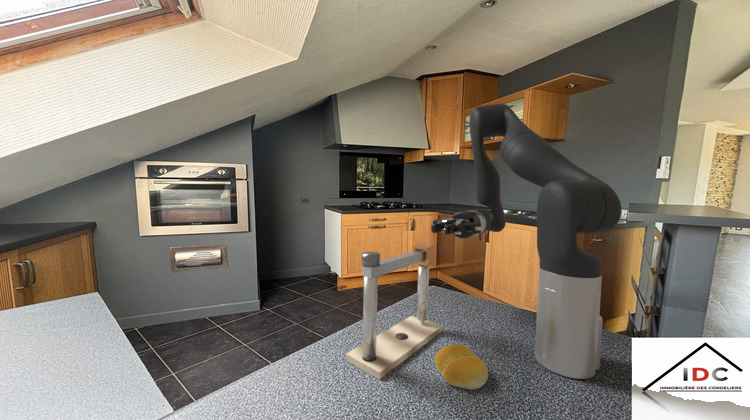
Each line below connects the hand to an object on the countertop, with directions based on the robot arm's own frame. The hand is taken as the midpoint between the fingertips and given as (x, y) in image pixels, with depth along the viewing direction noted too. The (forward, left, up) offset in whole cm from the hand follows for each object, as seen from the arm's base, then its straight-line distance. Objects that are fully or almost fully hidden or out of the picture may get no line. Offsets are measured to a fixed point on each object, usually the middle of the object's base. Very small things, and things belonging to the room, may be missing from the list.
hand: (439, 229), depth 69 cm
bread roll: (+6, +20, -22) cm, 31 cm away
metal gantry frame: (+13, +9, -21) cm, 26 cm away
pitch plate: (+14, +10, -22) cm, 28 cm away
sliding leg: (+6, +4, -20) cm, 22 cm away
